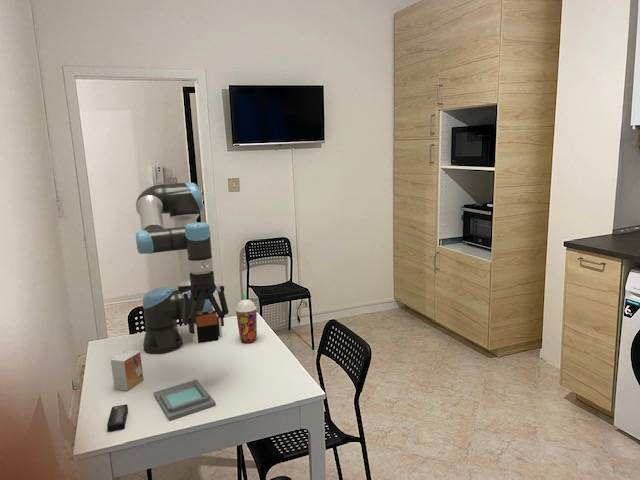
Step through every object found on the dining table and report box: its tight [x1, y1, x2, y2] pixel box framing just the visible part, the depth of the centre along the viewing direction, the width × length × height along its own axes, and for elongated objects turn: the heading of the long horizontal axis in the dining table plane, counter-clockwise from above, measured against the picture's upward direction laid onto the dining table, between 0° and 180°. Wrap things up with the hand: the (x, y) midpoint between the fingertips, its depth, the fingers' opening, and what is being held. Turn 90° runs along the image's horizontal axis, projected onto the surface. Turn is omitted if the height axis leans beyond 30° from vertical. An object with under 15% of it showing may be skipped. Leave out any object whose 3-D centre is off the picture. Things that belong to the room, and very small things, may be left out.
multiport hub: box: [106, 404, 129, 433], centre depth 139 cm, size 4×11×2 cm, turn 16°
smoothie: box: [235, 292, 258, 344], centre depth 193 cm, size 8×8×20 cm
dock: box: [153, 379, 217, 422], centre depth 149 cm, size 18×14×2 cm
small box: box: [110, 349, 144, 392], centre depth 160 cm, size 8×6×10 cm
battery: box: [194, 308, 220, 344], centre depth 156 cm, size 4×7×10 cm, turn 106°
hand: (207, 339), depth 156 cm, fingers closed on battery, 8 cm apart
